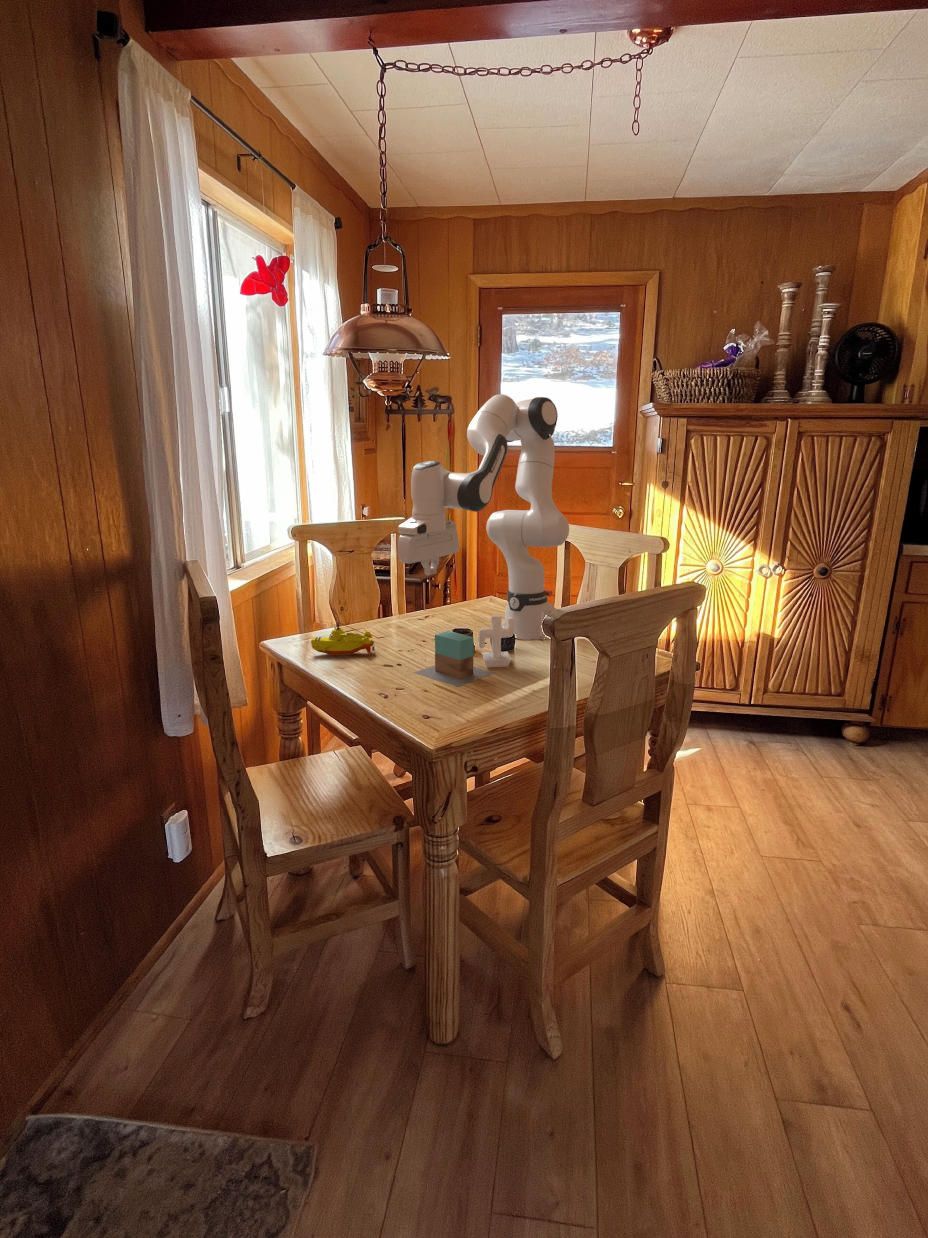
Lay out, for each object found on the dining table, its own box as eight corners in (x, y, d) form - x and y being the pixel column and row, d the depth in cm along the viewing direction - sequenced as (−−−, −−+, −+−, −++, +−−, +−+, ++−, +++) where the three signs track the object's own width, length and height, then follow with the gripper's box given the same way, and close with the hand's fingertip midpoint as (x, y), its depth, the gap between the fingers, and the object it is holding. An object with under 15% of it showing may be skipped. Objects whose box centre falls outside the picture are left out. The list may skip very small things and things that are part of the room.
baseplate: (451, 665, 193) (451, 660, 193) (494, 678, 182) (495, 672, 182) (413, 678, 183) (413, 672, 183) (457, 692, 173) (457, 686, 172)
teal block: (448, 648, 186) (448, 630, 185) (473, 655, 180) (473, 637, 179) (435, 653, 182) (434, 634, 181) (460, 660, 176) (459, 641, 175)
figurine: (477, 665, 193) (477, 612, 189) (511, 664, 194) (511, 611, 190) (480, 674, 186) (480, 619, 182) (515, 672, 187) (516, 618, 183)
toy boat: (374, 657, 201) (372, 623, 198) (310, 659, 199) (308, 625, 197) (375, 650, 207) (373, 617, 204) (313, 652, 206) (311, 619, 203)
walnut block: (448, 666, 187) (448, 648, 186) (473, 674, 181) (473, 655, 180) (435, 671, 184) (434, 653, 182) (460, 679, 178) (459, 660, 176)
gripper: (446, 518, 197) (448, 566, 200) (393, 527, 182) (395, 579, 186) (463, 519, 193) (464, 569, 196) (409, 529, 178) (412, 582, 182)
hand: (430, 574), depth 191 cm, fingers closed
